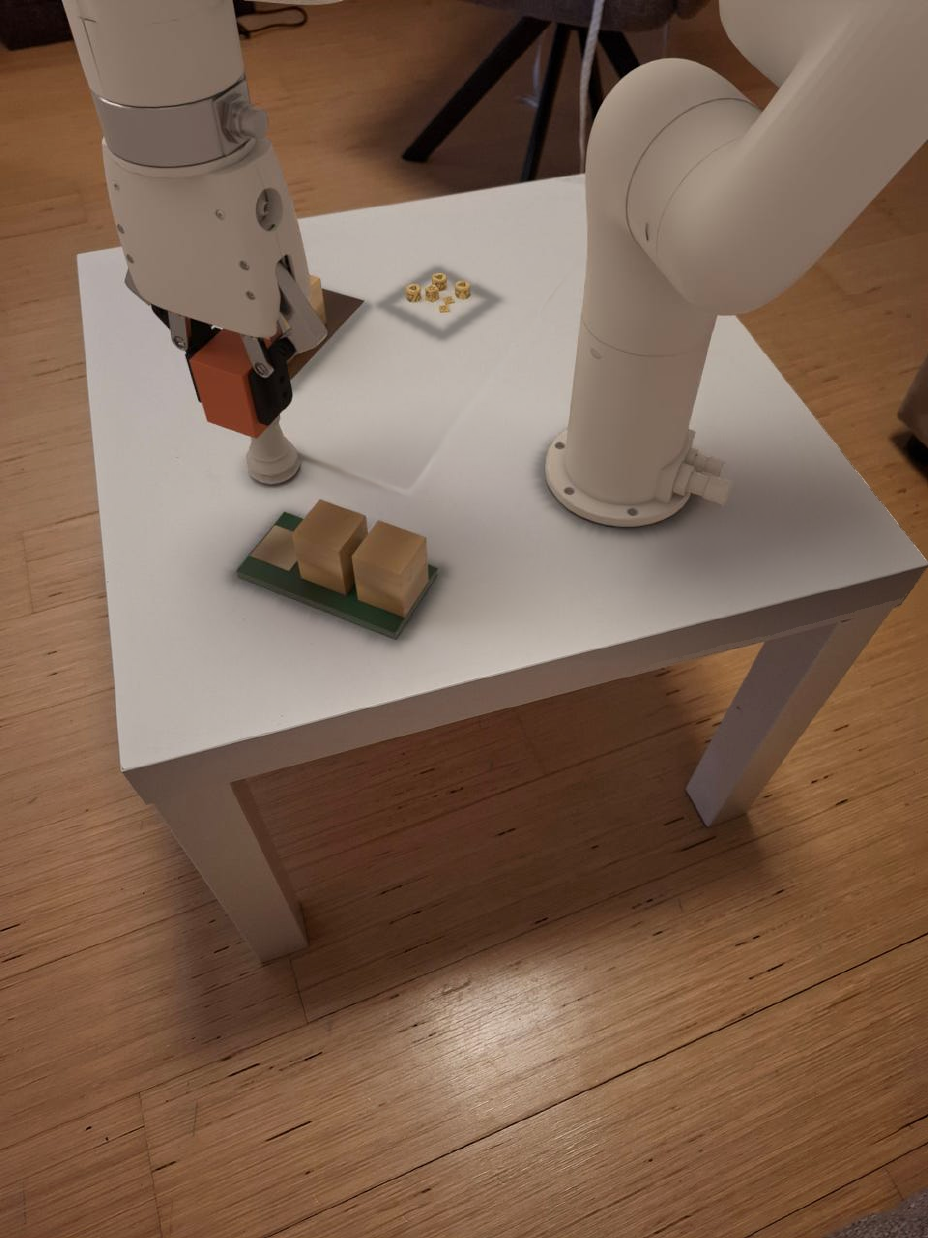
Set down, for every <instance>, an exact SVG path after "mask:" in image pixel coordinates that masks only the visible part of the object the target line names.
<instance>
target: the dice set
mask: <svg viewBox="0 0 928 1238" xmlns="http://www.w3.org/2000/svg"><path fill="white" fill-rule="evenodd" d="M431 276H432V277H431V284H430V285H428V286H425V288H424V291H425V294H424V295H425V300H426V301H429V302H432V303H435V302H436V301H437V300H438V299H439V298H440V293H439V292H443V291H446V289H447V287H448V278H447V275H446V274H445V273H442V272H437V273H433V275H431ZM421 289H422V288H421V286H420V285H419V284H417V283H410V284H407V285H406V287H405V298H406V299H405V300H407V301H408V302H410V303H417V302H420V301H421V299H422V290H421ZM454 295H455V297H456V298H457V299H459V300H465V299H469V297H470V296H471V284H470V283H469V281H466V280H458V281H457V282H455V284H454ZM442 301H443V302H444V304H440V305H438V311H439V313H440V314H442V313H443V314H444V313H450V307H449V305H451V304H455V303H456V301H455V299H454V297H453V296H452V295H450V296H449V295H448V296H444V297H442Z"/></svg>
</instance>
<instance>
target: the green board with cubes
mask: <svg viewBox="0 0 928 1238" xmlns="http://www.w3.org/2000/svg"><path fill="white" fill-rule="evenodd" d="M367 520H368V519H367V515H365V514H363V513H360V512H359V511H354V510H352V509H349V508H347V507H343V506H341V505H338V504H335V503H333V502H329V501H327V500H324V499H322V498H319V499H318V500H317V502H316V503H315V504H314V506H313V507H312V508H311V509H310V510H309V512H308V513H307V514H306V515H305V517H304V518H303V517H301V516H297V515H295V514H292V513H289V512H287V511H284V512H283V513H282V514H281V515H280V516H279V518H278V519H277V520H276V521H275V523H274V524H273V525H272V526H271V527H270V529H269V530H268V531H267V532H266V533H265V534H264V536H263V537H262V538H261V540H260V541H258V543H257V544H256V546H255V547H254V548H253V549H252V550H251V551H250V553H249V554H248V555H247V556H246V558H245V559H244V560H243V562H242V563H240V565H239V566H238V567H237V569H236V570H235V573H236V575H237V577H238V578H240V579H242V580H245V581H248V582H250V583H252V584H254V585H257V586H259V587H262V588H265V589H268V590H270V591H273V592H275V593H278V594H280V595H283V596H285V597H288V598H290V599H293V600H296V601H298V602H300V603H303V604H305V605H308V606H310V607H313V608H315V609H318V610H321V611H323V612H326V613H328V614H331V615H333V616H336V617H338V618H341V619H343V620H346V621H348V622H351V623H353V624H356V625H359V626H361V627H363V628H366V629H368V630H371V631H374V632H376V633H378V634H381V635H384V636H387V637H388V638H391V639H395V640H396V639H397V638H398V637H399V635H400V633H401V632H402V630H403V629H404V627H405V626H406V624H408V623H407V622H408V621H409V619H410V618H411V616H412V615H413V613H414V612H415V610H416V609H417V608H418V606H419V604H420V602H421V601H422V599H423V598H424V597H425V595H426V593H427V592H428V591H429V588H430V587H431V585H432V584H433V583H434V581H435V579H436V578H437V576H438V575H439V571H438V567H437V566H434V565H432V564H429V559H428V542H427V537H426V536H424V535H421V534H419V533H416V532H413V531H410V530H407V529H405V528H402V527H399V526H396V525H394V524H391V523H388V522H385V521H382V520H379V519H378V520H377V521H376V522H375V524H374V525H373V527H372V528H371V529H370V530H369V529H368V528H369V527H368V521H367Z"/></svg>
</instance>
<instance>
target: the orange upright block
mask: <svg viewBox="0 0 928 1238" xmlns="http://www.w3.org/2000/svg"><path fill="white" fill-rule="evenodd" d="M263 339H264V342H265V345H266V347H267V348H268V347H269V346H270V345H271V344H272V343H271V341H270V340H269V339H266V338H263ZM189 361H190V365H191V368H192V372H193V375H194V378H195V382H196V385H197V389H198V392H199V395H200V399H201V402H202V403H201V406H202V410H203V413H204V416H205V419H206V422H207V423H208V424H209V423H210V424H213V425H216V426H218V427H220V428H224V429H227V430H230V431H233V432H235V433H238V434H240V435H243V436H247V437H249V438H251V437H252V438H255V439H257V438H258V437H259V436H260V435H261V434H262V433H263V432H264V431H265V430H266V429H267V428H268V426H266V425H263V424H261V423H260V422H259V420H258V417H257V413H256V408H255V404H254V400H253V396H252V391H251V387H250V383H249V374H250V373H251V372H252V371H253V370H254V369H253V366H252V364H251V361H250V359H249V356H248V353H247V351H246V348H245V346H244V343H243V341H242V338H241V336H240V333H238V332H234V331H231V330H227V329H224V328H221V331H220V332H219V333H218V334H216V335H215V336H214V337H213V338H212V339H211V340H210V341H209V342H208V343H207V344H206V345H205V346H204V347H203V348H201V349H200V350H199V351H198V352H197V353H196V354H195V355H194V356H193V357H192V358H191V359H190V360H189ZM279 415H280V416H281V413H280V414H279Z"/></svg>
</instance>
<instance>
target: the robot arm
mask: <svg viewBox="0 0 928 1238" xmlns="http://www.w3.org/2000/svg"><path fill="white" fill-rule="evenodd" d="M233 1H234V0H61V2H62V5H63V9H64V12H65V14H66V18H67V21H68V24H69V27H70V31H71V34H72V37H73V40H74V44H75V46H76V50H77V54H78V56H79V60H80V64H81V66H82V70H83V73H84V75H85V78H86V81H87V85H88V89H89V92H90V95H91V99H92V102H93V105H94V109H95V112H96V115H97V118H98V121H99V125H100V128H101V131H102V134H103V135H102V136H103V137H102V140H101V148H102V149H101V151H102V159H103V160H102V161H103V168H104V174H105V181H106V186H107V191H108V197H109V202H110V206H111V211H112V216H113V219H114V224H115V228H116V231H117V236H118V240H119V242H120V246H121V250H122V252H123V256H124V260H125V262H126V265H127V271H126V274H125V277H124V285H125V286H126V287H127V288H128V290H129V291H130V292H132V293H133V294H134V296H136V297H138V298H139V299H140V300H141V301H142V302H144V303H145V304H146V305H147V306H148V307H150V309H151V310H152V312H153V314H154V315H155V316H156V317H157V318H158V319H159V320H160V322H161V323H163V325H165V327H167V329H168V330H169V331H170V338H171V342H172V344H173V345H174V346H175V347H176V348H177V349H178V350H180V351H182V352H185V353H184V358H185V360H186V364H187V368H188V371H189V374H190V377H191V380H192V384H193V388H194V391H195V395H196V398H197V401H198V403H200V404H202V402H201V399H200V395H199V392H198V389H197V385H196V382H195V378H194V375H193V372H192V368H191V365H190V361H189V360H190V359H191V358H192V357H193V356H194V355H195V354H196V353H197V352H198V351H199V350H200V349H201V348H203V347H204V346H205V345H206V344H207V343H208V342H209V341H210V340H211V339H212V338H213V337H214V336H215V335H216V334H218V333H219V332H220V331H221V330H222V329H223V328H224V329H227V330H231V331H234V332H238V333H240V336H241V338H242V341H243V343H244V346H245V348H246V351H247V353H248V356H249V359H250V361H251V364H252V366H253V369H254V370H253V371H252V372H251V373H250V374H249V383H250V387H251V391H252V396H253V400H254V404H255V408H256V413H257V417H258V420H259V422H260V423H261V424H263V425H266V426H269V425H270V424H271V423H272V422H273V421H274V420H275V419H276V418H277V417H278V416H279V414H280V415H281V414H282V412H284V411H285V410H286V409H287V408H288V407H289V406H290V405H291V403H292V401H293V395H294V394H293V393H294V392H293V388H292V381H291V380H290V376H289V371H288V366H287V360H289V359H290V358H291V357H292V356H293V355H295V354H298V353H299V354H300V353H303V352H305V351H308V350H311V349H313V348H315V347H316V346H317V345H318V344H319V343H320V342H321V341H322V340H323V339H324V338H325V337H326V336H327V334H328V332H327V329H326V327H325V326H324V324H323V323H322V321H321V320H320V318H319V317H318V315H317V314H316V312H315V311H314V309H313V308H312V306H311V305H310V303H309V301H310V299H311V295H312V292H311V283H310V276H309V275H310V271H309V264H308V260H307V255H306V251H305V250H306V249H305V246H304V241H303V237H302V232H301V228H300V224H299V220H298V216H297V213H296V209H295V206H294V201H293V198H292V195H291V192H290V189H289V185H288V182H287V179H286V177H285V174H284V172H283V171H284V170H283V169H282V166H281V162H280V160H279V157H278V155H277V152H276V150H275V149H274V146H273V144H272V141H271V139H270V138H269V137H267V135H268V134H267V133H268V130H269V125H270V124H269V123H270V122H269V116H268V113H267V112H266V110H264V109H263V108H259V107H255V106H254V104H253V103H252V101H251V97H250V96H251V95H250V90H249V84H248V79H247V73H246V67H245V64H244V58H243V52H242V47H241V42H240V35H239V31H238V25H237V19H236V13H235V7H234V2H233ZM245 1H249V2H260V3H270V4H271V3H273V4H284V5H299V6H300V5H301V6H302V5H303V6H319V5H329V4H335V3H339V2H343V1H344V0H245ZM718 8H719V9H718V10H719V17H720V22H721V24H722V27H723V29H724V32H725V33H726V36H727V37H728V39H729V40H730V41H731V43H732V44H733V45H734V47H735V48H736V49H737V50H738V51H739V52H740V54H741V55H742V56H743V57H744V58H745V59H746V60H747V61H748V63H750V64H751V65H752V66H753V67H754V68H755V69H757V70H758V71H759V72H760V73H761V74H762V75H763V76H765V77H766V78H767V79H768V80H770V82H771V83H773V84H774V85H775V86H777V88H778V90H777V91H776V93H775V94H774V96H773V97H772V98H771V100H770V101H769V102H768V104H767V106H766V107H765V108H764V109H763V110H762V109H761V108H759V106H757V105H756V104H755V103H754V102H753V101H751V100H750V99H749V98H748V97H747V96H746V95H745V94H743V92H741V91H740V90H739V89H738V88H737V87H736V86H735V85H734V84H733V83H731V82H730V81H729V80H728V79H726V78H725V77H724V76H722V75H721V74H719V73H718V72H717V71H715V70H713V68H710V67H708V66H706V65H704V64H701V63H699V62H697V61H694V60H690V59H686V58H678V57H670V58H669V57H667V58H660V59H656V60H652V61H649V62H646V63H644V64H641V65H639V66H638V67H636V68H634V69H633V70H631V71H629V72H628V73H627V74H626V75H624V76H623V77H622V78H621V79H620V80H619V81H618V82H617V83H615V85H614V86H613V87H612V89H611V90H610V92H609V93H608V94H607V95H606V97H605V98H604V99H603V102H602V104H601V105H600V107H599V109H598V111H597V113H596V116H595V118H594V120H593V123H592V126H591V130H590V132H589V137H588V142H587V146H586V155H585V169H584V179H585V180H584V184H585V185H584V187H585V190H584V193H585V211H586V212H585V213H586V261H585V274H584V275H585V277H584V286H583V296H582V305H581V310H580V319H579V326H578V327H579V328H578V337H577V346H576V355H575V364H574V370H573V371H574V373H573V381H572V390H571V400H570V408H569V416H568V426H567V428H565V429H564V430H563V431H562V432H560V433H559V434H558V435H557V436H555V438H554V439H553V440H552V442H551V444H550V445H549V447H548V450H547V453H546V457H545V468H544V473H545V479H546V483H547V485H548V487H549V489H550V492H551V493H552V494H553V495H554V497H555V498H556V499H557V500H558V501H559V502H560V503H561V504H562V505H563V506H564V507H565V508H566V509H568V510H569V511H571V512H573V513H574V514H576V515H577V516H579V517H581V518H584V519H586V520H589V521H591V522H594V523H598V524H600V525H601V524H602V525H605V526H610V527H611V526H612V527H621V528H625V527H627V528H631V527H642V526H648V525H652V524H655V523H658V522H662V521H664V520H665V519H667V518H670V517H671V516H673V515H675V514H676V513H677V512H678V511H680V510H681V509H682V508H683V507H684V506H685V504H686V503H687V502H688V500H689V499H690V497H691V494H693V495H696V496H699V497H702V499H705V500H706V501H707V500H708V501H711V502H714V503H717V504H720V505H725V503H726V502H727V499H728V496H729V494H730V491H731V488H732V485H733V481H732V480H728V479H726V478H722V477H720V476H721V474H722V472H723V469H724V466H725V463H726V460H723V459H720V458H718V457H717V458H716V457H713V456H708V455H705V454H700V453H699V449H696V448H693V445H694V442H695V436H696V433H697V432H696V430H694V429H690V428H689V427H690V424H691V420H692V417H693V412H694V407H695V404H696V400H697V397H698V392H699V388H700V385H701V381H702V377H703V372H704V368H705V364H706V359H707V356H708V352H709V348H710V344H711V340H712V337H713V333H714V330H715V326H716V324H717V323H716V322H717V318H718V316H720V317H721V316H722V317H731V316H732V317H733V316H738V315H744V314H746V313H749V312H753V311H755V310H758V309H759V308H761V307H763V306H765V305H767V304H768V303H770V302H772V301H774V300H775V299H776V298H778V297H780V296H781V295H782V294H783V293H785V292H786V291H787V290H788V289H790V288H791V287H792V286H793V285H795V284H796V283H797V282H798V281H799V280H800V279H801V278H802V277H804V275H805V274H806V273H807V272H808V271H809V270H810V269H811V268H812V267H813V266H815V264H816V263H817V262H818V261H819V260H820V259H821V258H822V257H823V255H824V254H825V253H826V252H827V251H828V250H829V249H830V248H831V247H832V246H833V245H834V244H835V243H836V242H837V241H838V239H839V238H840V237H841V236H842V235H843V234H844V233H845V232H846V230H847V229H848V228H849V227H850V226H851V225H852V224H853V222H855V220H856V219H858V217H859V216H860V215H861V214H862V213H863V212H864V211H865V209H866V208H867V207H868V206H869V205H870V204H871V203H872V202H873V201H874V199H875V198H876V197H877V196H878V195H879V194H880V193H881V192H882V190H883V189H884V188H885V187H886V186H888V184H889V183H890V182H891V181H892V180H893V179H894V177H895V176H896V175H897V174H898V173H899V171H901V169H902V168H904V166H905V165H906V164H907V163H908V162H909V161H910V159H912V157H913V156H914V155H915V154H916V153H917V152H918V150H920V149H921V148H922V146H923V145H924V144H925V143H926V141H928V0H718ZM282 315H283V316H282ZM283 317H284V318H285V320H286V321H287V323H288V324H289V326H290V327H291V328H289V329H288V330H287V327H286V324H285V321H284V319H283ZM213 326H214V327H213ZM267 337H269V338H270V341H271V343H272V344H271V345H270V346H269V347H268V348H267V347H266V345H265V342H264V339H263V338H267ZM696 470H697V471H696ZM698 471H701V472H704V473H705V474H704V473H701V472H698Z"/></svg>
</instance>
